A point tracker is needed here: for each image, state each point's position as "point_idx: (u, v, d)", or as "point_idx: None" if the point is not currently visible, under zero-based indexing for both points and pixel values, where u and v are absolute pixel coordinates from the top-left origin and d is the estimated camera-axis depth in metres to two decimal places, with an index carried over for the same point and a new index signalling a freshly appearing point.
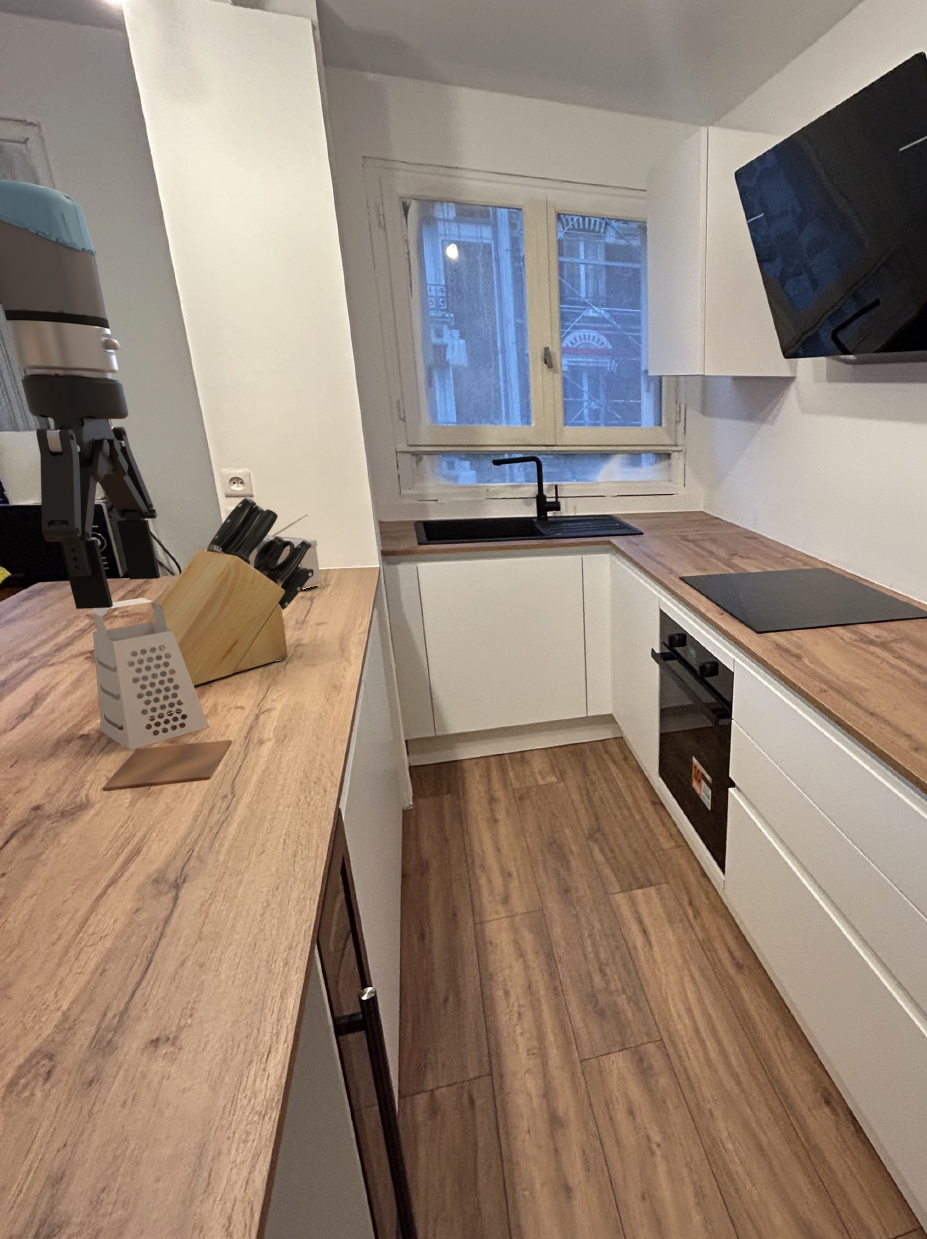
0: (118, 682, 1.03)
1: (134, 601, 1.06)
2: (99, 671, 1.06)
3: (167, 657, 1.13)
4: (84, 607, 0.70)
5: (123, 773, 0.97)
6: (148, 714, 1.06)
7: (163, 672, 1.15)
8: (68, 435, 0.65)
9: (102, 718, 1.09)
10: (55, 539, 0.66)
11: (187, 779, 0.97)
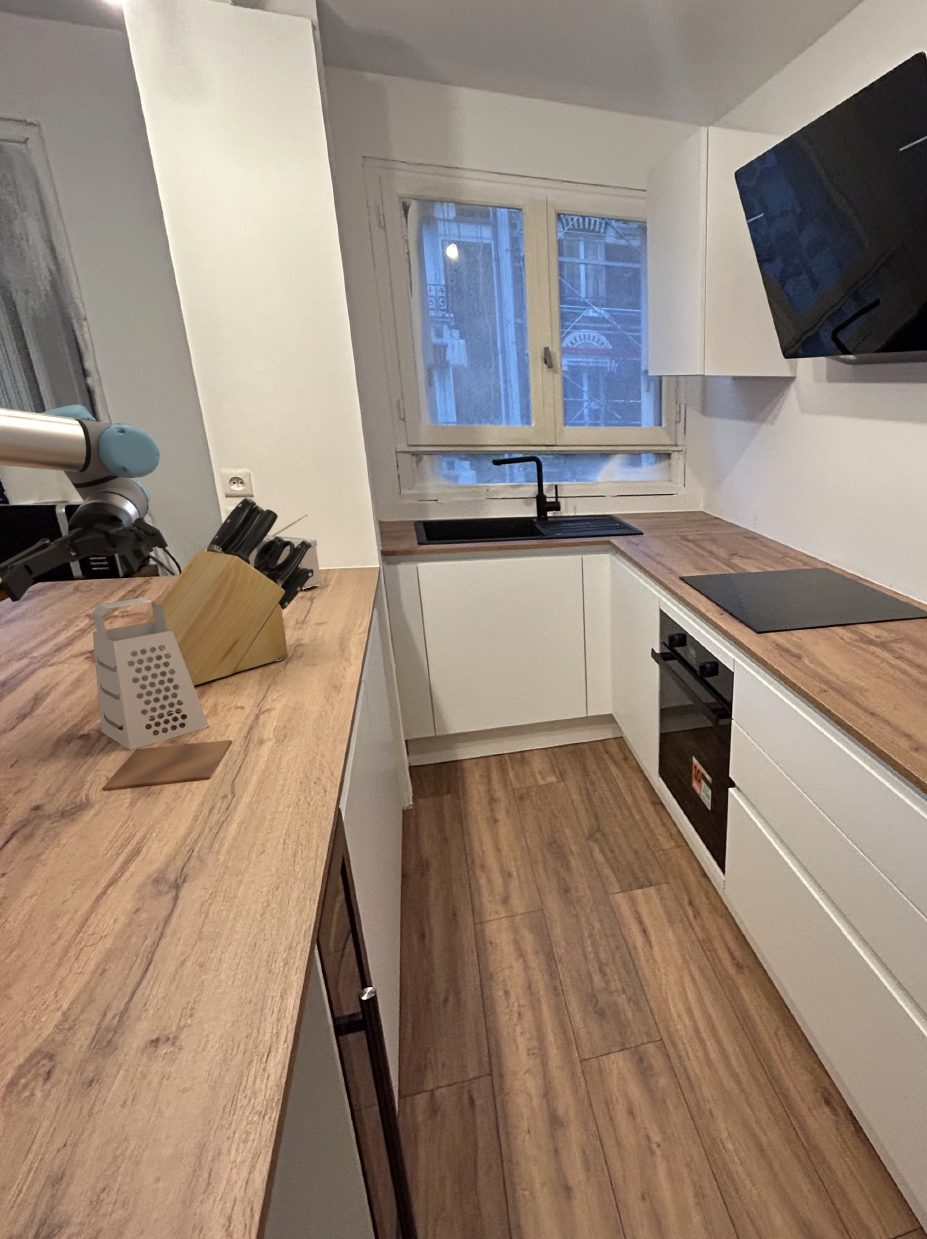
0: (118, 682, 1.03)
1: (134, 601, 1.06)
2: (99, 671, 1.06)
3: (167, 657, 1.13)
4: (127, 558, 0.98)
5: (123, 773, 0.97)
6: (148, 714, 1.06)
7: (163, 671, 1.15)
8: None
9: (102, 718, 1.09)
10: (143, 536, 1.03)
11: (187, 779, 0.97)
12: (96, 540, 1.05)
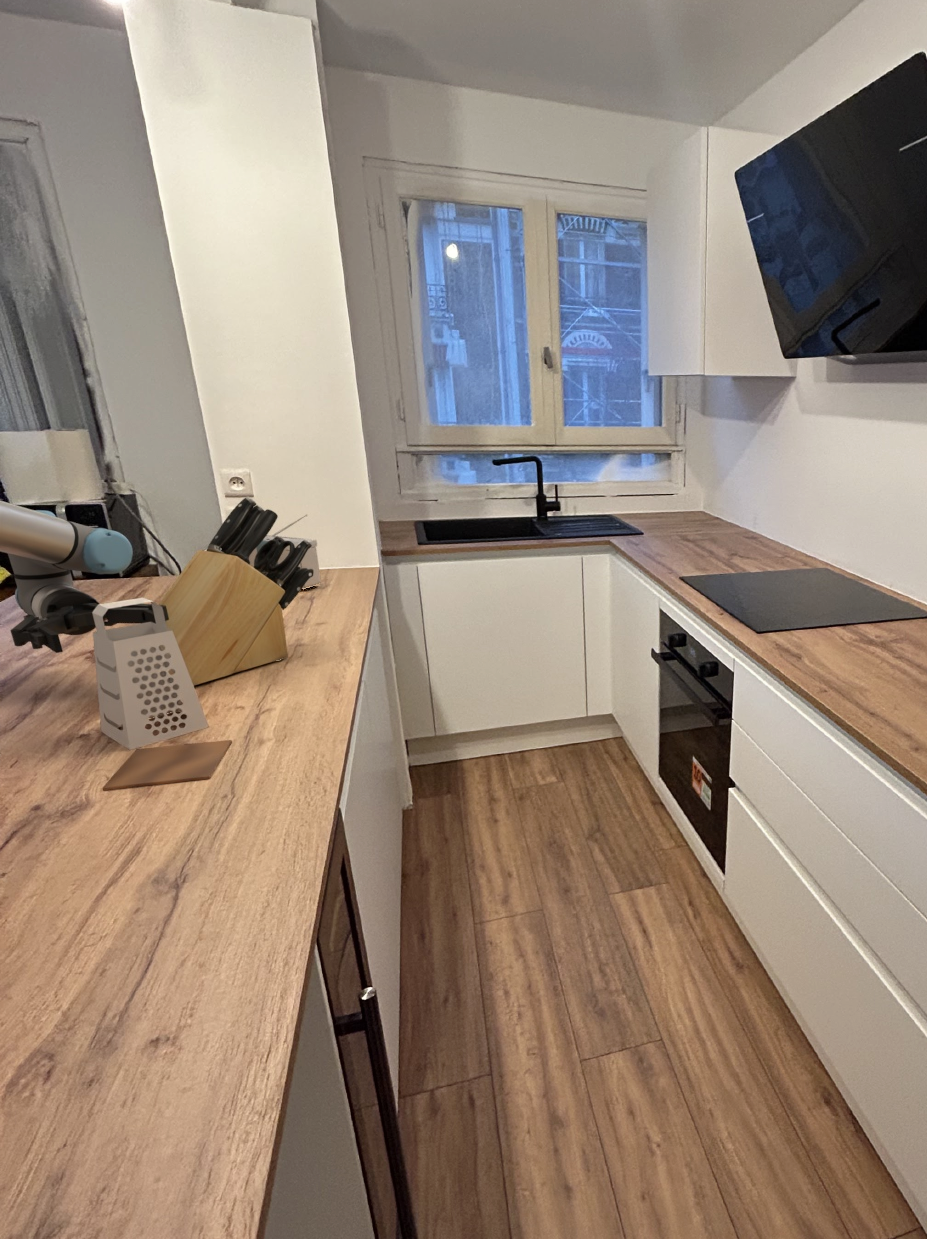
0: (118, 682, 1.03)
1: (134, 601, 1.06)
2: (99, 671, 1.06)
3: (167, 657, 1.13)
4: None
5: (123, 773, 0.97)
6: (148, 714, 1.06)
7: (163, 671, 1.15)
8: None
9: (102, 718, 1.09)
10: None
11: (187, 779, 0.97)
12: (92, 614, 1.19)
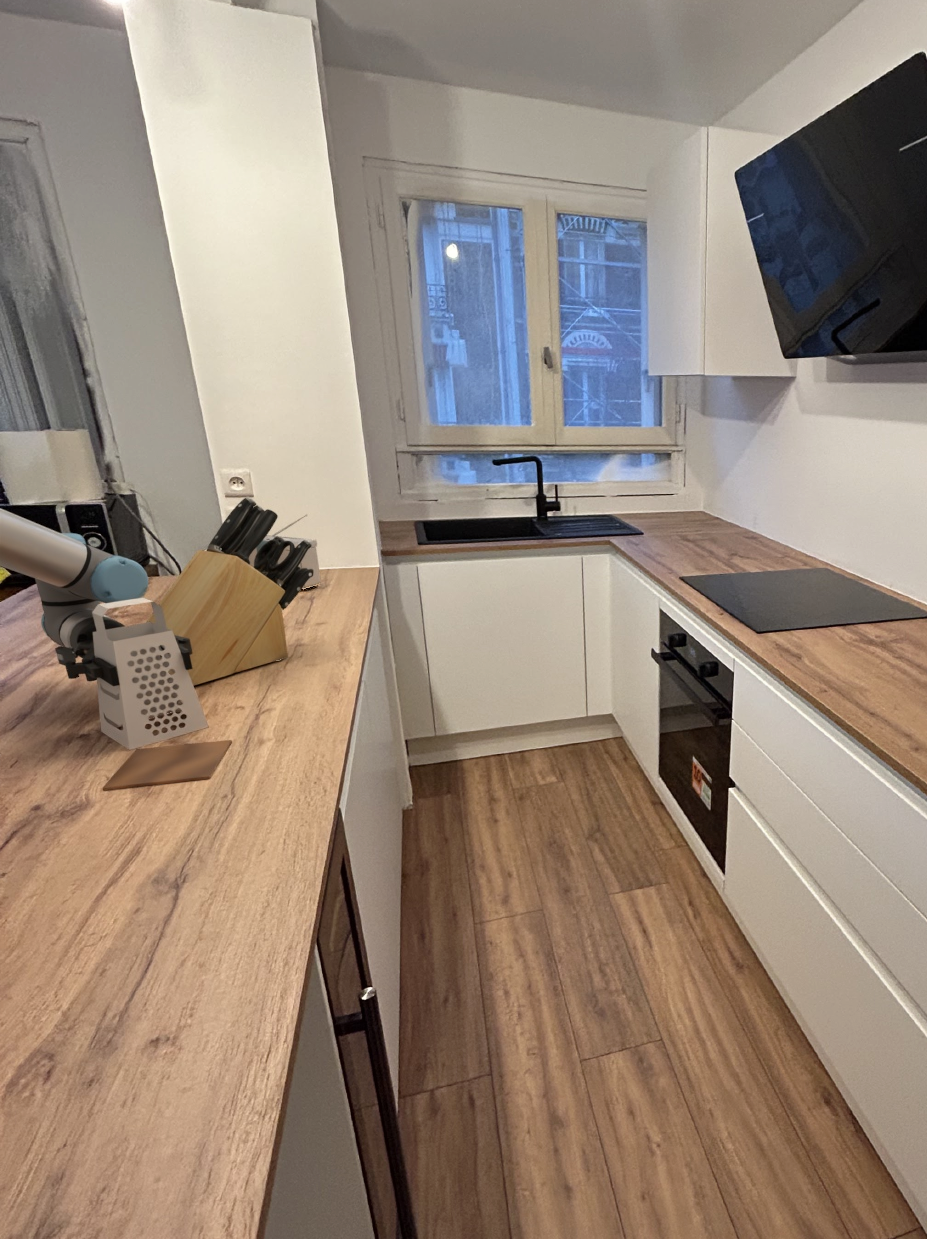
0: None
1: (134, 601, 1.06)
2: None
3: (167, 657, 1.13)
4: (189, 655, 1.09)
5: (123, 773, 0.97)
6: (148, 714, 1.06)
7: (163, 671, 1.15)
8: None
9: (102, 718, 1.09)
10: (177, 642, 1.13)
11: (187, 779, 0.97)
12: None
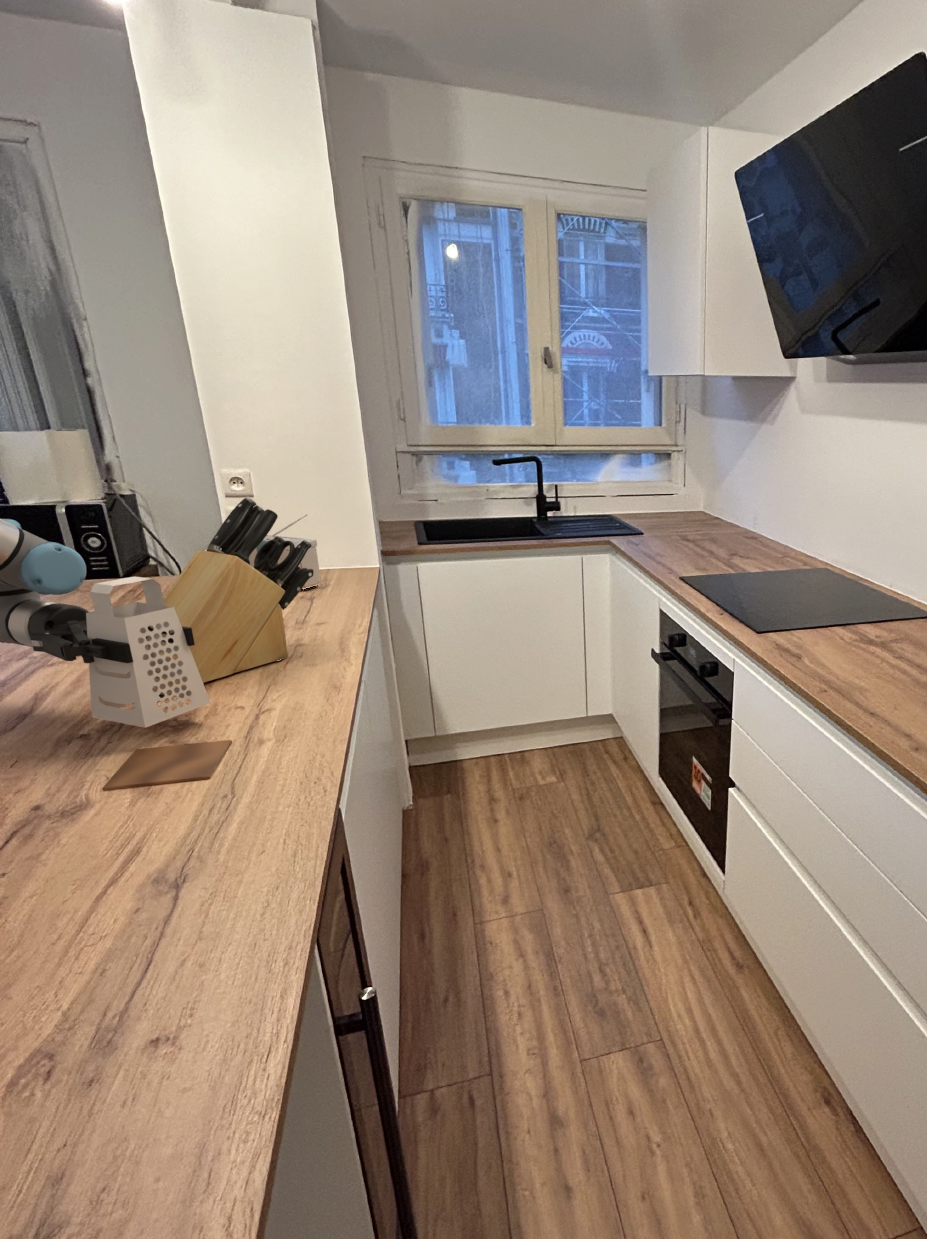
0: None
1: (131, 579, 1.05)
2: None
3: (156, 637, 1.12)
4: (191, 631, 1.10)
5: (123, 773, 0.97)
6: (158, 691, 1.06)
7: (147, 653, 1.13)
8: None
9: (95, 702, 1.06)
10: None
11: (187, 779, 0.97)
12: None
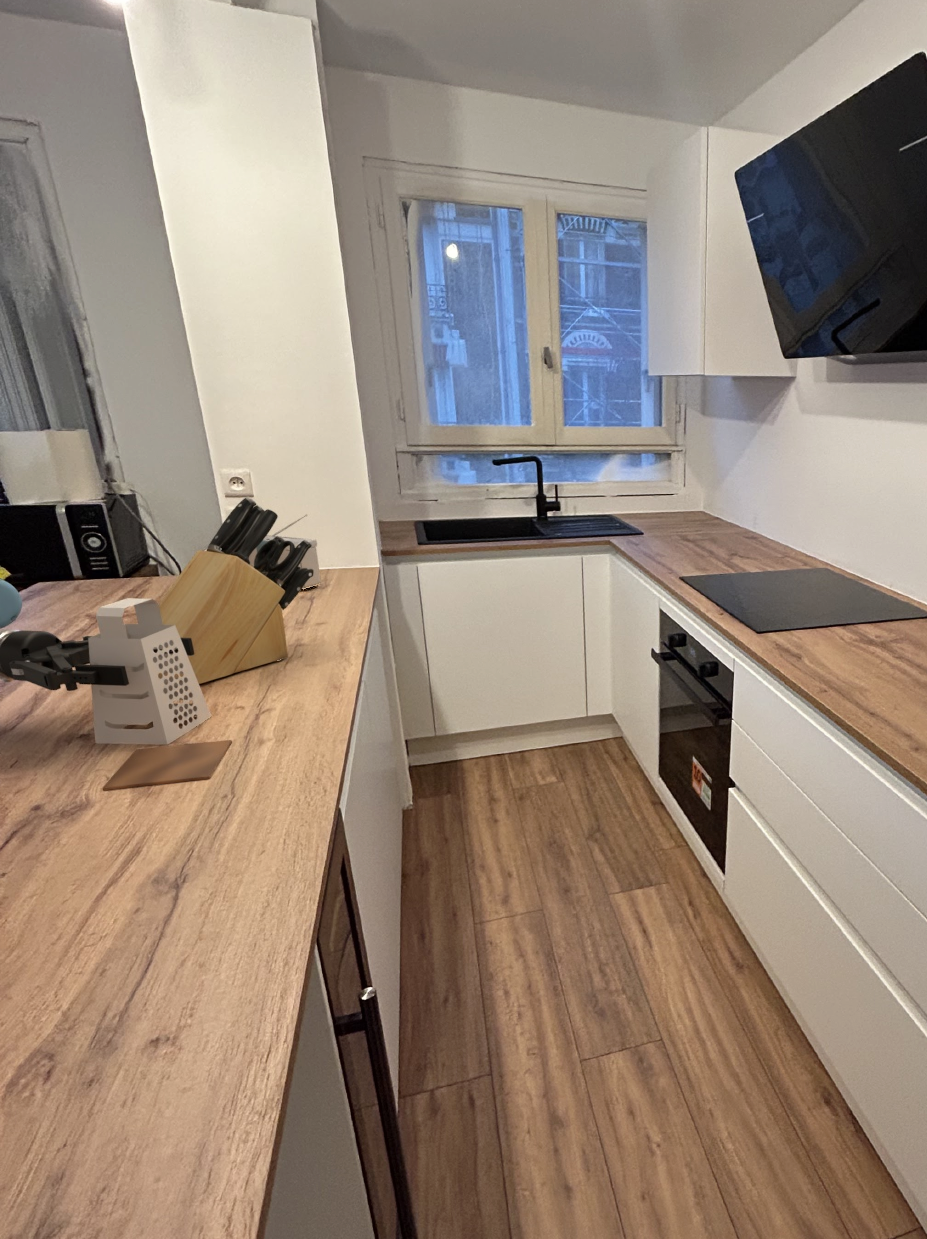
0: (148, 679, 1.04)
1: (130, 601, 1.06)
2: None
3: None
4: (191, 641, 1.14)
5: (123, 773, 0.97)
6: (173, 708, 1.08)
7: None
8: None
9: (100, 727, 1.06)
10: None
11: (187, 779, 0.97)
12: (85, 651, 1.09)
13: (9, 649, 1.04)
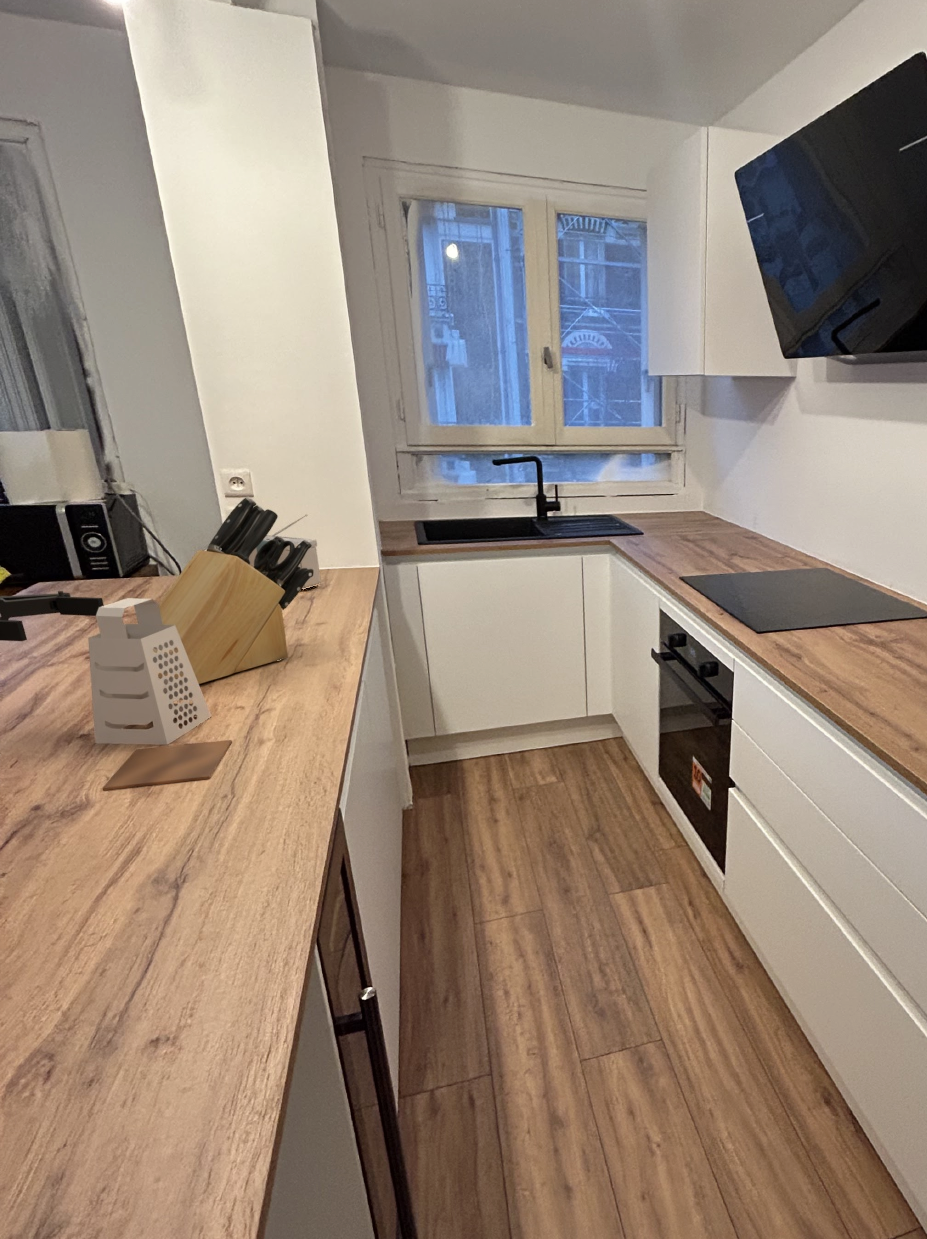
0: (148, 679, 1.04)
1: (130, 601, 1.06)
2: (99, 677, 1.04)
3: None
4: (102, 602, 1.11)
5: (123, 773, 0.97)
6: (173, 708, 1.08)
7: None
8: None
9: (100, 727, 1.06)
10: (64, 596, 1.12)
11: (187, 779, 0.97)
12: None
13: None
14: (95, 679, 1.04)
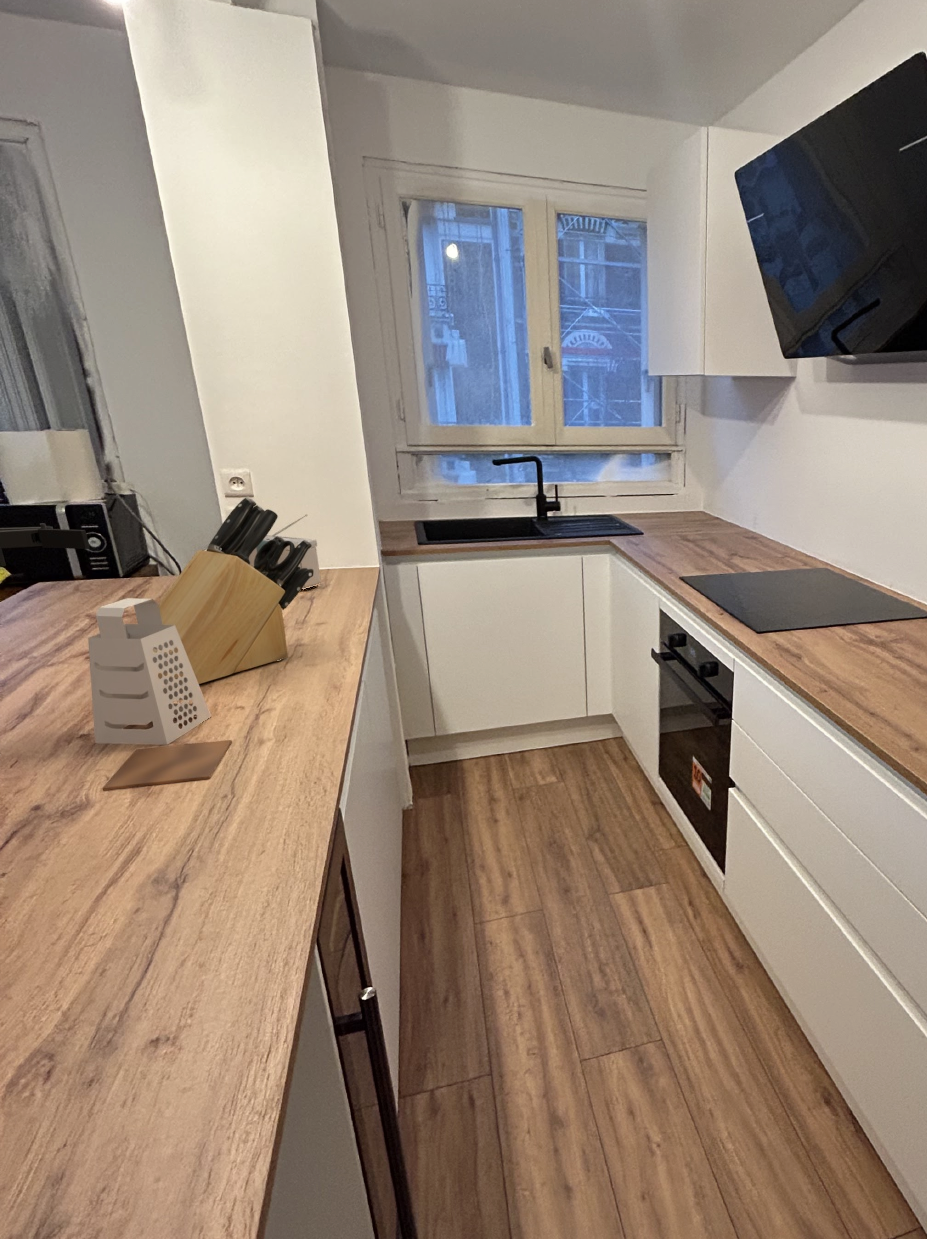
0: (148, 679, 1.04)
1: (130, 601, 1.06)
2: (99, 677, 1.04)
3: None
4: (85, 534, 1.08)
5: (123, 773, 0.97)
6: (173, 708, 1.08)
7: None
8: None
9: (100, 727, 1.06)
10: (46, 528, 1.09)
11: (187, 779, 0.97)
12: None
13: None
14: (95, 679, 1.04)
